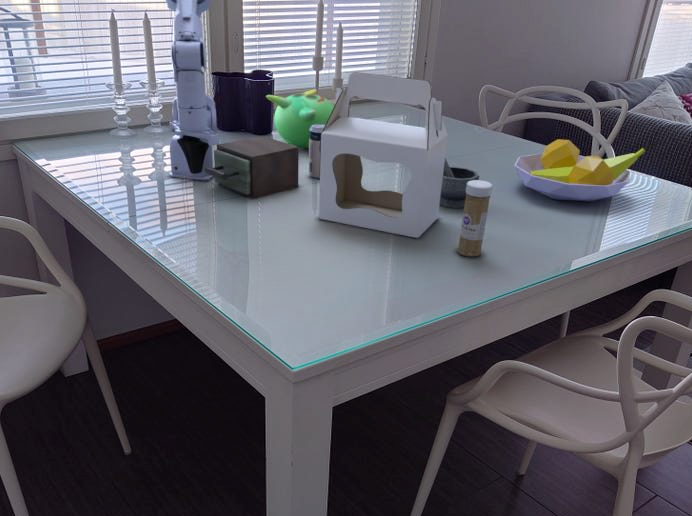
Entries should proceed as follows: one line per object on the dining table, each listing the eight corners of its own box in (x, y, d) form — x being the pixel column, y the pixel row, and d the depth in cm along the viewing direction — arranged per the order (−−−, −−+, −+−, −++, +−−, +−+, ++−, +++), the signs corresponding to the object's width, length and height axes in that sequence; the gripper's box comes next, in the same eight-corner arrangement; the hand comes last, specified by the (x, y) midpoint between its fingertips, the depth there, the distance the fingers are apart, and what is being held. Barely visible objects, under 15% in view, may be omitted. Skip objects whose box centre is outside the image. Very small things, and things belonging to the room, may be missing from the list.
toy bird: (348, 146, 194) (351, 91, 186) (314, 159, 182) (316, 100, 174) (295, 135, 202) (296, 82, 194) (260, 147, 190) (259, 90, 182)
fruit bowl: (504, 201, 158) (512, 151, 152) (519, 170, 180) (527, 125, 174) (633, 220, 151) (647, 168, 145) (633, 186, 173) (645, 139, 167)
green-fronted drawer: (230, 199, 149) (229, 165, 146) (199, 186, 156) (196, 153, 152) (289, 184, 160) (289, 152, 156) (257, 172, 167) (256, 141, 163)
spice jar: (325, 180, 167) (327, 129, 160) (306, 178, 167) (307, 127, 161) (329, 174, 171) (331, 124, 164) (311, 172, 171) (312, 122, 165)
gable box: (438, 218, 147) (456, 78, 132) (419, 239, 136) (435, 88, 122) (342, 200, 154) (349, 65, 139) (317, 218, 144) (321, 74, 129)
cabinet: (253, 198, 153) (252, 157, 148) (218, 184, 160) (216, 144, 156) (298, 186, 162) (298, 147, 157) (263, 173, 169) (262, 135, 164)
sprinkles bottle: (452, 252, 131) (462, 182, 124) (465, 246, 134) (475, 177, 127) (473, 259, 129) (484, 188, 122) (485, 253, 132) (497, 183, 125)
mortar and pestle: (477, 200, 158) (485, 146, 152) (471, 212, 151) (479, 157, 144) (429, 193, 161) (434, 141, 155) (420, 205, 153) (426, 151, 147)
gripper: (154, 101, 142) (160, 167, 149) (196, 115, 133) (201, 184, 141) (183, 97, 146) (188, 162, 153) (226, 110, 138) (228, 178, 145)
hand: (196, 172), depth 147 cm, fingers closed
